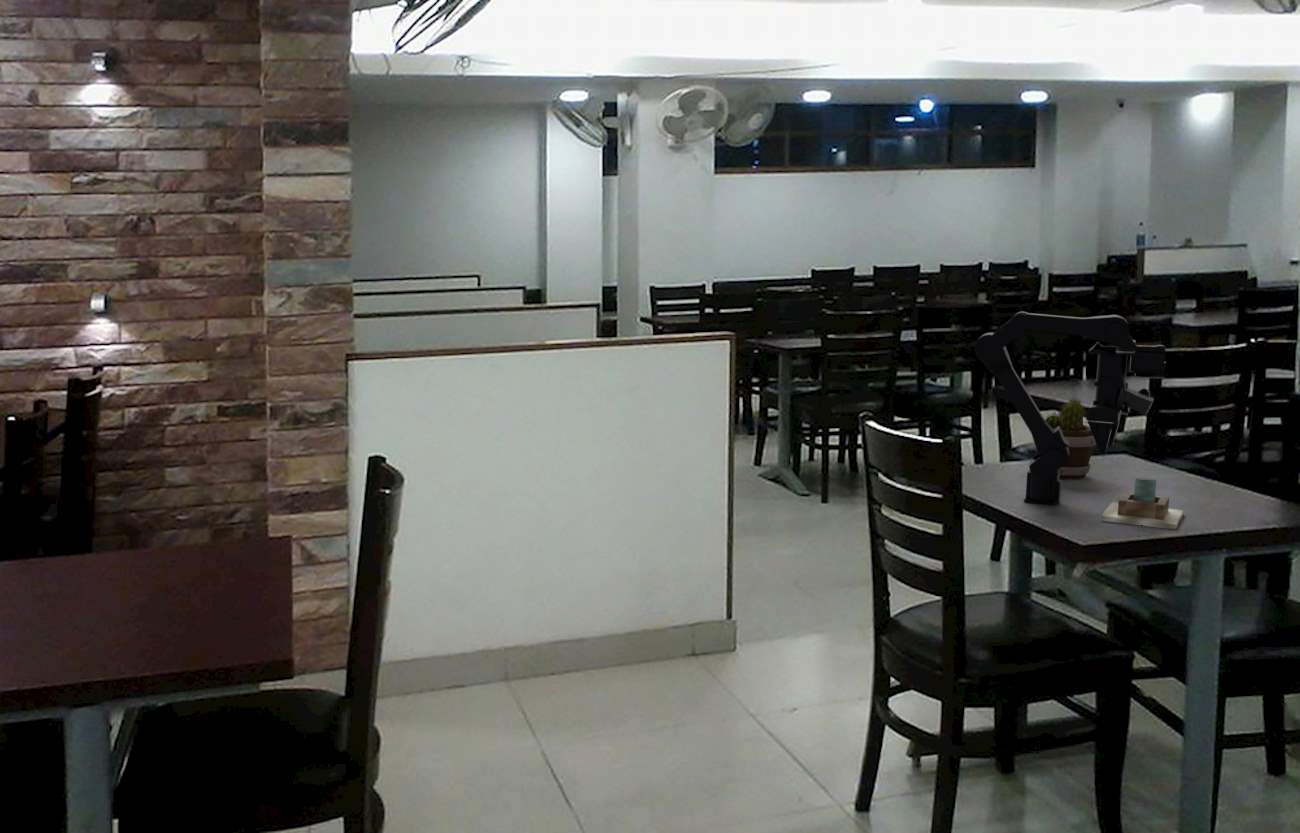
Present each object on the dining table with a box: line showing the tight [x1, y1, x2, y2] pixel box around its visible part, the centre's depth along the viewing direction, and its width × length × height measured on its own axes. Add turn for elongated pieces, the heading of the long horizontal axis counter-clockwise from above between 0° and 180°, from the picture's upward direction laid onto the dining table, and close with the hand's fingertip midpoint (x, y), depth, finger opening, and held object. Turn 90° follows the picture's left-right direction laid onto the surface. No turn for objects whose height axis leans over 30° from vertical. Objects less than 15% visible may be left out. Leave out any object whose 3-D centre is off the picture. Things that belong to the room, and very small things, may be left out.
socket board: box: [1100, 491, 1185, 530], centre depth 261 cm, size 14×14×4 cm
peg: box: [1133, 476, 1158, 503], centre depth 260 cm, size 4×4×7 cm
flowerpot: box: [1044, 394, 1097, 481], centre depth 300 cm, size 14×15×20 cm
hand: (1105, 449), depth 269 cm, fingers open, 9 cm apart
